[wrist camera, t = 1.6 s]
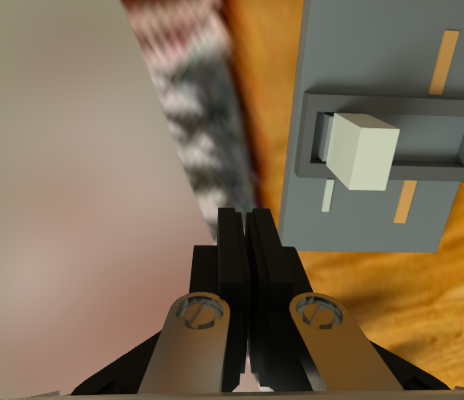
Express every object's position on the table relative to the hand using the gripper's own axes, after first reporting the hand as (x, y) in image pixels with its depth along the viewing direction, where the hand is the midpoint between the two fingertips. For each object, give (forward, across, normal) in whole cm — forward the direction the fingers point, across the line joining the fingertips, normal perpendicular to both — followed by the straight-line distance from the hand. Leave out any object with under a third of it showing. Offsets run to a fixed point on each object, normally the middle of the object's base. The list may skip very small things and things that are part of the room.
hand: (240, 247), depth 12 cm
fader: (+17, -9, 0) cm, 19 cm away
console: (+19, -13, 0) cm, 23 cm away
